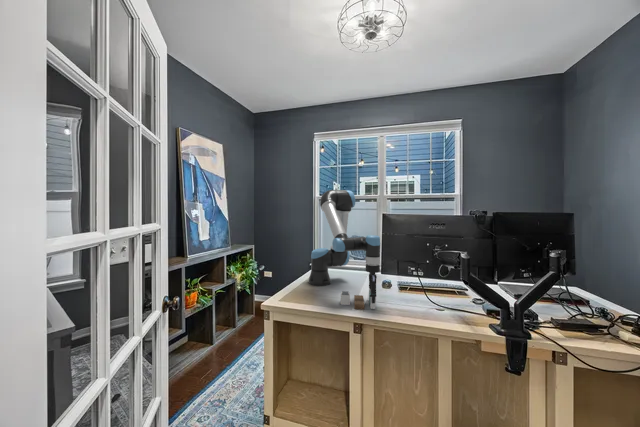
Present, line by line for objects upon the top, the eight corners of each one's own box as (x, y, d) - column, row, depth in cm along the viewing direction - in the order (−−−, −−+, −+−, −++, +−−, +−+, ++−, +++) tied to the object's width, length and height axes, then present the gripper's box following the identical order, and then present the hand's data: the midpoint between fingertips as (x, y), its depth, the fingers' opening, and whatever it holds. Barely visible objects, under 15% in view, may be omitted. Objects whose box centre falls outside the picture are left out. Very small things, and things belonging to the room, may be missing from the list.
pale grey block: (340, 301, 151) (341, 290, 151) (349, 301, 150) (349, 291, 150) (340, 304, 146) (340, 293, 146) (349, 305, 145) (349, 294, 145)
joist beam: (354, 299, 153) (354, 295, 153) (363, 299, 153) (363, 295, 153) (354, 309, 140) (354, 304, 139) (364, 309, 139) (364, 304, 139)
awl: (369, 303, 147) (369, 288, 147) (374, 304, 147) (374, 288, 146) (369, 305, 144) (369, 290, 144) (375, 306, 144) (375, 290, 143)
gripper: (364, 259, 156) (364, 296, 157) (367, 269, 133) (366, 312, 134) (377, 259, 156) (377, 297, 156) (382, 269, 133) (381, 313, 133)
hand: (372, 304), depth 145 cm, fingers open, 11 cm apart
